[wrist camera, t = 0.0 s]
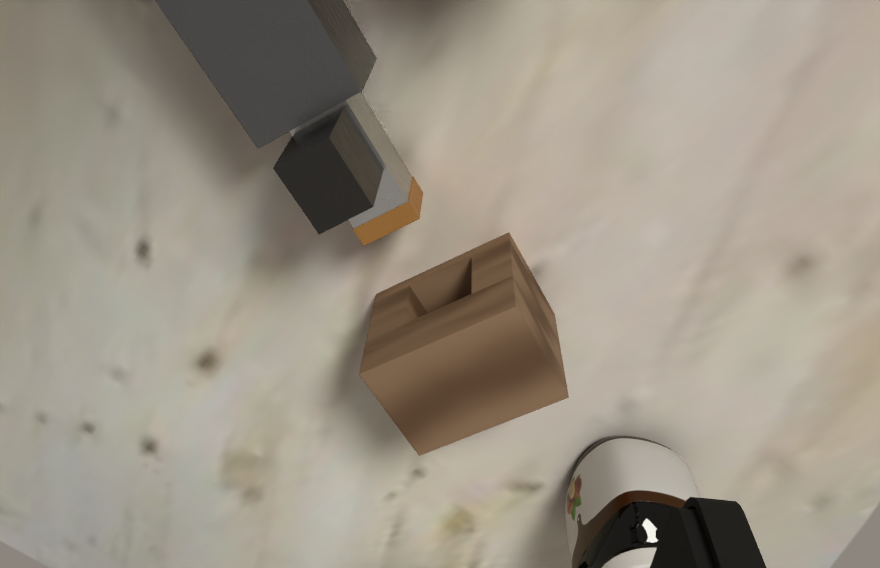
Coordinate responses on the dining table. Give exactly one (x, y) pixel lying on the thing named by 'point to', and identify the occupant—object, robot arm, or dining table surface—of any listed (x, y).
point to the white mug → (623, 501)
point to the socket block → (464, 347)
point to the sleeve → (275, 57)
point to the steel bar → (349, 173)
